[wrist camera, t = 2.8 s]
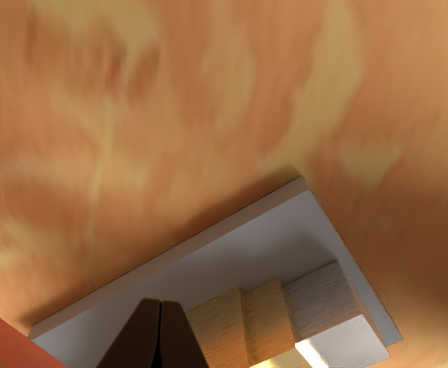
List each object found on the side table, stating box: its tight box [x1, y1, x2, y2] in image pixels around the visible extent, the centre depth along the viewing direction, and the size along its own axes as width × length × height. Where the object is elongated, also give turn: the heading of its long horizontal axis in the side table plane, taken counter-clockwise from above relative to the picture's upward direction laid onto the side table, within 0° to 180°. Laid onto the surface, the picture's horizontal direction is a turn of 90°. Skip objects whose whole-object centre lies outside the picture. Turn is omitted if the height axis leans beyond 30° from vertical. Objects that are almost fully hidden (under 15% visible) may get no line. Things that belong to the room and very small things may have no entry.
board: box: [28, 176, 403, 368], centre depth 19 cm, size 10×14×1 cm
